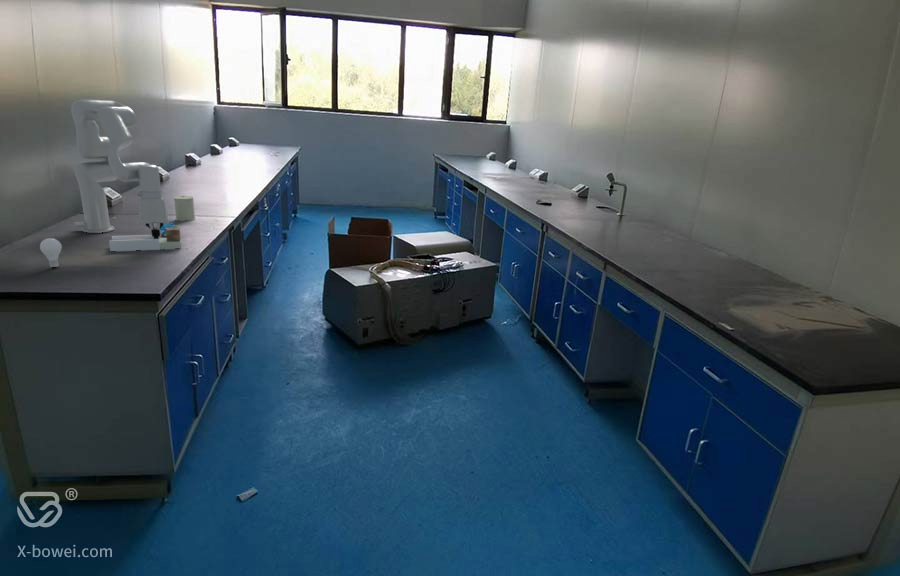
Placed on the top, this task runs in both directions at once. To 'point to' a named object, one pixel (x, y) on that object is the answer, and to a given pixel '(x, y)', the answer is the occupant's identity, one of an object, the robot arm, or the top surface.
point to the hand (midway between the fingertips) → (156, 238)
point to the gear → (166, 227)
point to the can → (184, 208)
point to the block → (173, 234)
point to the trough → (141, 243)
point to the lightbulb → (51, 250)
